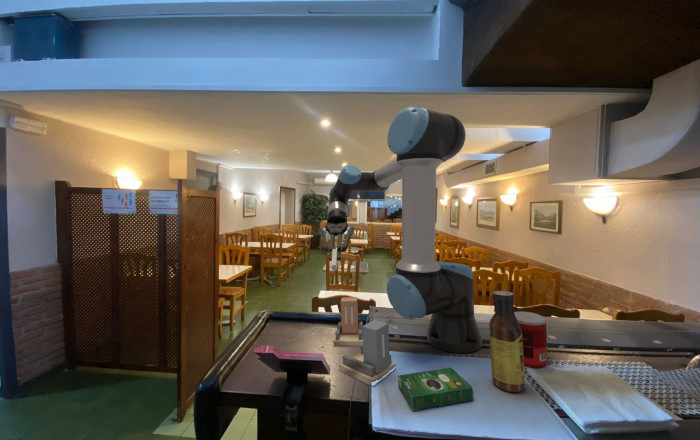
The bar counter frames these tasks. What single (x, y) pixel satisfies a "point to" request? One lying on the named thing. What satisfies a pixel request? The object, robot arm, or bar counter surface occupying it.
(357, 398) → the bar counter surface
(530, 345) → the canned food
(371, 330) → the slate key
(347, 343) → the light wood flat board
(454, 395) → the coffee box
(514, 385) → the sauce bottle
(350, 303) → the pinkish brown tall block
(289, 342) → the bar counter surface
